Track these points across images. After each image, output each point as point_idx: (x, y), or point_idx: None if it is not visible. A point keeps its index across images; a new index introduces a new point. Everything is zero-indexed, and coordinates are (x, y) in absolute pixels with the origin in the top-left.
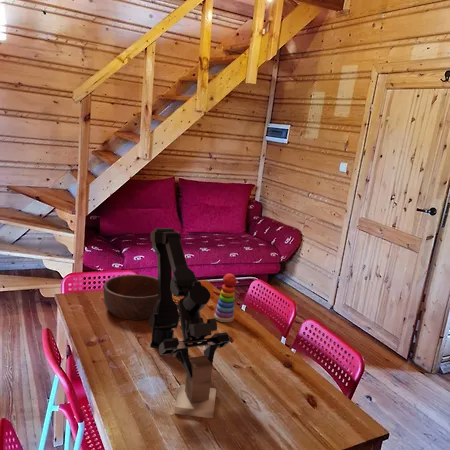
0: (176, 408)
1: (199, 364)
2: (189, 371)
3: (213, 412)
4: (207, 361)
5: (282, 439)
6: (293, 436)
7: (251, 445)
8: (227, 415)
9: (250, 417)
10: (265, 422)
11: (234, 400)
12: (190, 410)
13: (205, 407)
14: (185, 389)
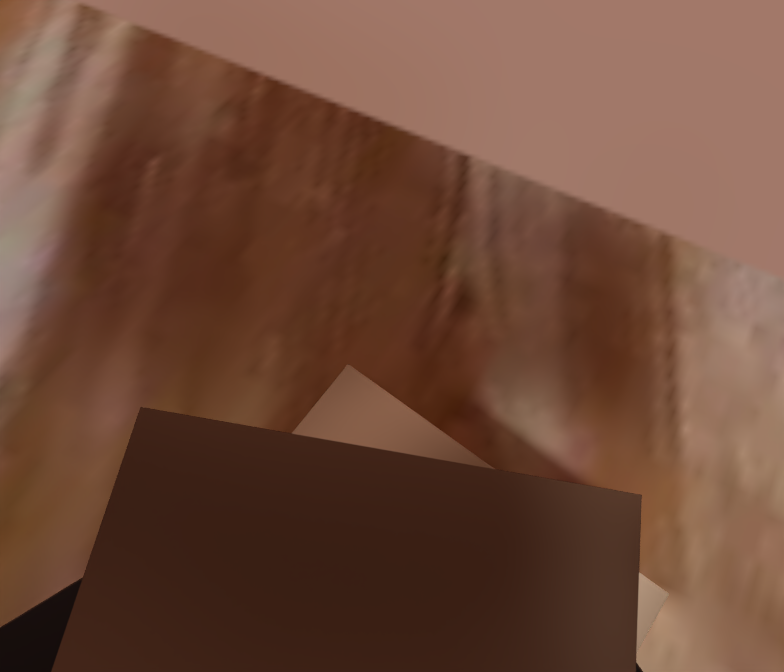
0: (646, 581)
1: (427, 602)
2: (638, 667)
3: (349, 368)
4: (127, 645)
5: (81, 48)
6: (3, 40)
7: (281, 81)
8: (225, 365)
9: (88, 273)
10: (40, 191)
11: (30, 507)
12: None
13: (383, 446)
14: None
